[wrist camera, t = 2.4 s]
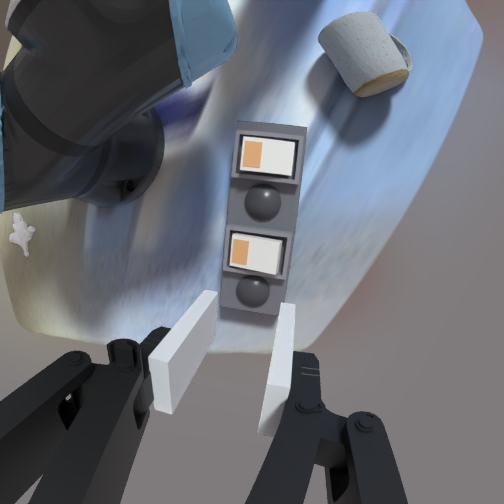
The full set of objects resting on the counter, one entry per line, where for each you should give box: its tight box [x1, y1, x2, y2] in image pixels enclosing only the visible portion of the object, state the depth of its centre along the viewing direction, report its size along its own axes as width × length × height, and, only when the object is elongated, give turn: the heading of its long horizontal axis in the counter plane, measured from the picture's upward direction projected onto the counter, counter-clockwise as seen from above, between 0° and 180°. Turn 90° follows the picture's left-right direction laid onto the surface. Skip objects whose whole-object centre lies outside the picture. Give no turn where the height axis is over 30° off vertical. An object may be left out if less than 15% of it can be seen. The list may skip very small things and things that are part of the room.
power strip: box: [220, 121, 307, 316], centre depth 30 cm, size 7×20×5 cm, turn 174°
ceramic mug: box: [318, 11, 413, 97], centre depth 22 cm, size 11×8×8 cm
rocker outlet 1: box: [240, 136, 295, 176], centre depth 26 cm, size 5×3×1 cm
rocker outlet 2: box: [230, 233, 282, 275], centre depth 28 cm, size 5×3×1 cm
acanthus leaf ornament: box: [9, 213, 36, 257], centre depth 39 cm, size 8×7×2 cm
